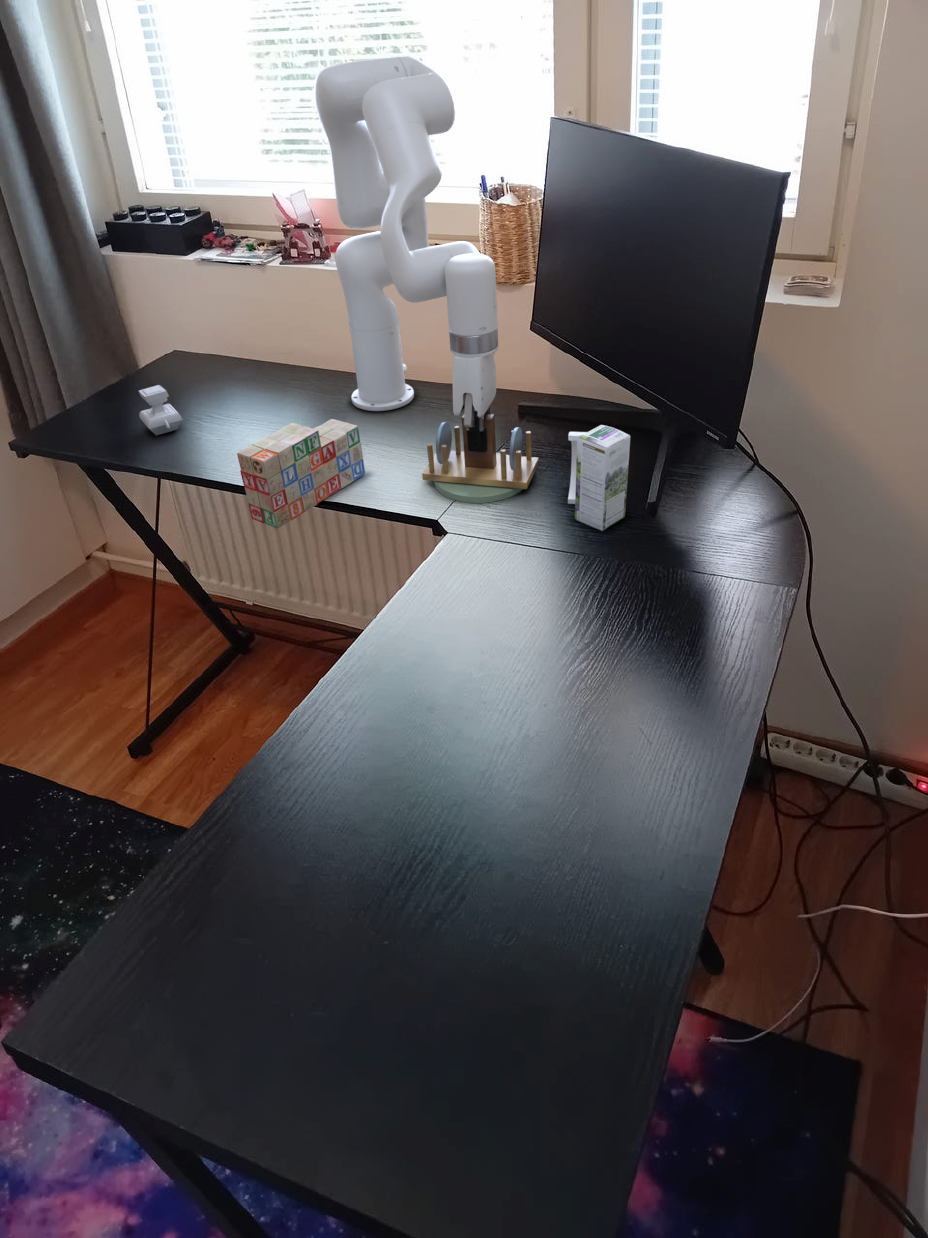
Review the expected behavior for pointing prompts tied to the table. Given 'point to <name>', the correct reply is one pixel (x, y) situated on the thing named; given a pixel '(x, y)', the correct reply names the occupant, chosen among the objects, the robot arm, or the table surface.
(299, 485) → the stack of blocks
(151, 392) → the stamp
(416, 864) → the table surface
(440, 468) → the plate rack
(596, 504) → the syrup box
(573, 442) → the white curved piece
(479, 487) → the turntable
